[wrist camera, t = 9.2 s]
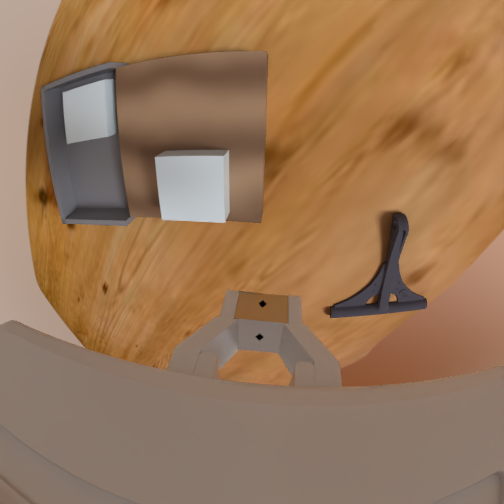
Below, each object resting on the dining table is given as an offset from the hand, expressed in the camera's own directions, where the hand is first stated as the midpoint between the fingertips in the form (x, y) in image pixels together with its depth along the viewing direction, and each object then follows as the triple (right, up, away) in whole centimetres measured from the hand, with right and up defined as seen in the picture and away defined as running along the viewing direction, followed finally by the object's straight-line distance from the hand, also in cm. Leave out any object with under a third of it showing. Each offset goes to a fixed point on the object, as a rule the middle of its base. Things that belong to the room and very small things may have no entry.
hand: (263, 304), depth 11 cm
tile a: (-17, +17, +11) cm, 27 cm away
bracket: (+17, +1, +20) cm, 26 cm away
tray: (-18, +14, +14) cm, 27 cm away
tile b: (-5, +9, +13) cm, 17 cm away
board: (-6, +14, +13) cm, 20 cm away
